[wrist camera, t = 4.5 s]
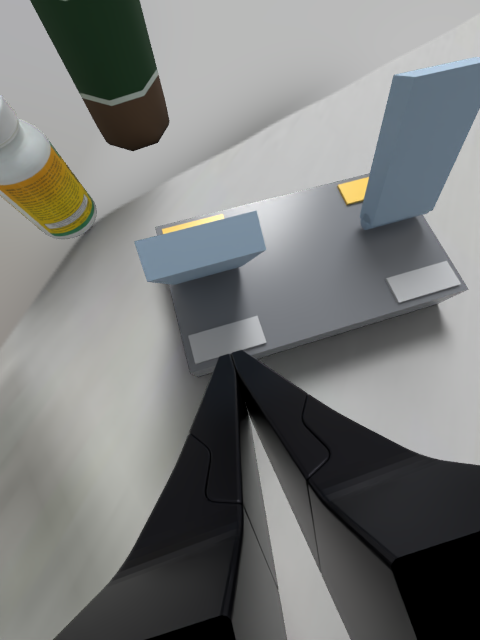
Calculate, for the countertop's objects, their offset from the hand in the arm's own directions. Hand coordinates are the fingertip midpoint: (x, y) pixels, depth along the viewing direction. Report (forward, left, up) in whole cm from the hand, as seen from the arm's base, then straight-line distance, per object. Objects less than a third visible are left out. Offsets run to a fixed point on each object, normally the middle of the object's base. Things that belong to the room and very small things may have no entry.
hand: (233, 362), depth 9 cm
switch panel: (+7, -8, -11) cm, 15 cm away
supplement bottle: (+19, +11, -11) cm, 25 cm away
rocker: (+8, 0, -7) cm, 11 cm away
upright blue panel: (+8, -15, -7) cm, 19 cm away
